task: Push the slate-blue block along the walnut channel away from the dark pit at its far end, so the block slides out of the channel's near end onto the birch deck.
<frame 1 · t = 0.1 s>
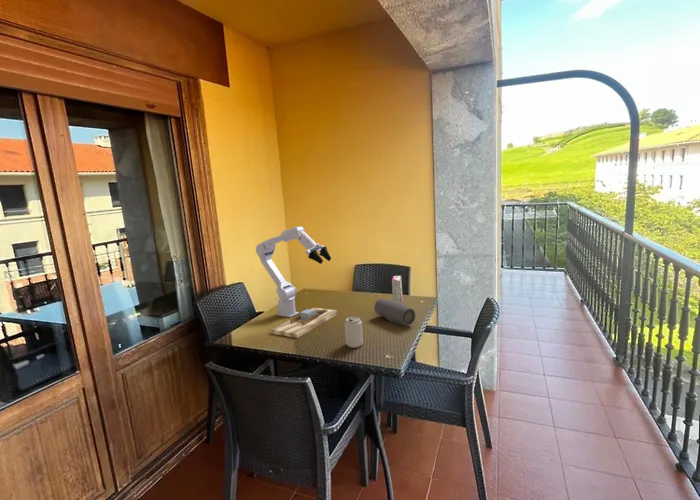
hand: (326, 261, 186), 32 cm above the table, tool tilted 50°, fingers open, 7 cm apart
slate block: (308, 318, 190), point 2 cm above the table, touching birch deck
candy bar box: (397, 306, 208), on the table
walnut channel: (304, 318, 187), on the birch deck, point 2 cm above the table
birch deck: (306, 323, 189), on the table
bluetooth speaker: (394, 321, 184), on the table
can: (354, 345, 158), on the table
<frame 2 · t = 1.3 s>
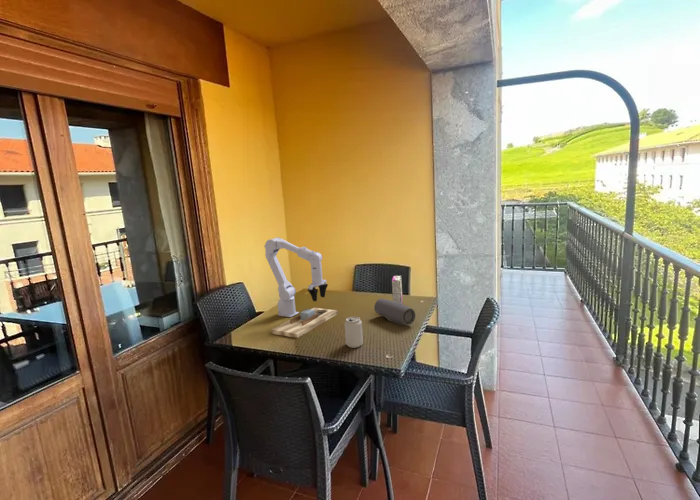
hand: (318, 299, 198), 9 cm above the table, tool pointing down, fingers open, 7 cm apart
nothing on the table moved.
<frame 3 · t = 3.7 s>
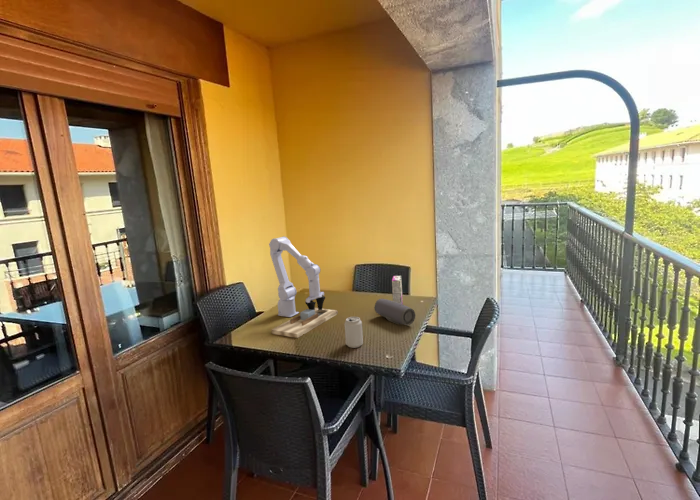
hand: (316, 311, 197), 3 cm above the table, tool pointing down, fingers open, 7 cm apart
slate block: (308, 318, 190), point 2 cm above the table, touching gripper
everything else where it was.
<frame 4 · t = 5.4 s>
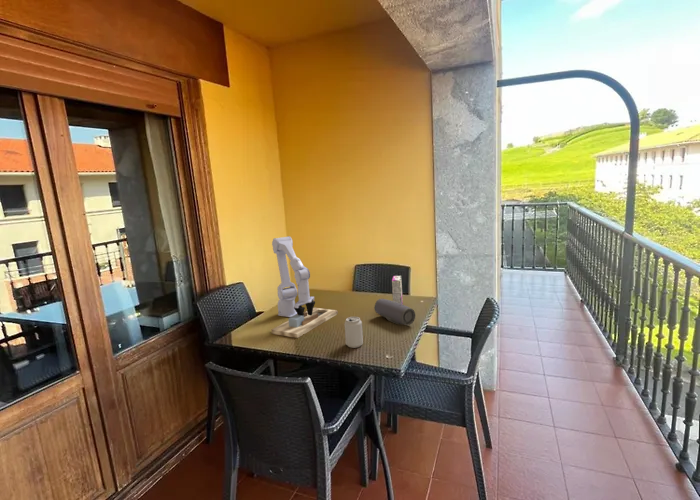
hand: (305, 317, 188), 3 cm above the table, tool pointing down, fingers open, 7 cm apart
slate block: (296, 324, 182), point 2 cm above the table, touching birch deck, gripper
everything else where it was.
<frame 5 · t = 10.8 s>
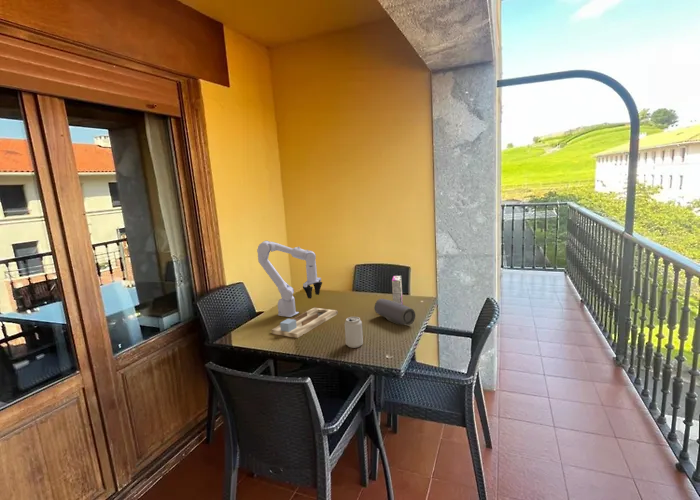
hand: (313, 296, 204), 9 cm above the table, tool pointing down, fingers open, 7 cm apart
slate block: (288, 329, 176), point 2 cm above the table, touching birch deck
everything else where it was.
at the end: slate block 0.7 cm from the target spot on the birch deck, point 2.0 cm above the birch deck's base; slate block tilted 0° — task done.
